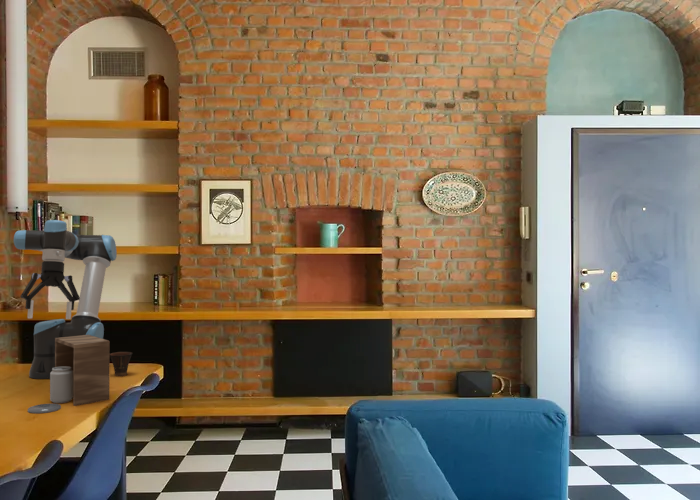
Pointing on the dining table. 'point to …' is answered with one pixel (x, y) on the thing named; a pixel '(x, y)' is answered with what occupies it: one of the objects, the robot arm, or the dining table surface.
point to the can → (61, 384)
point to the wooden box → (85, 366)
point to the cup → (120, 362)
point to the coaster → (44, 408)
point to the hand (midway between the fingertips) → (49, 318)
